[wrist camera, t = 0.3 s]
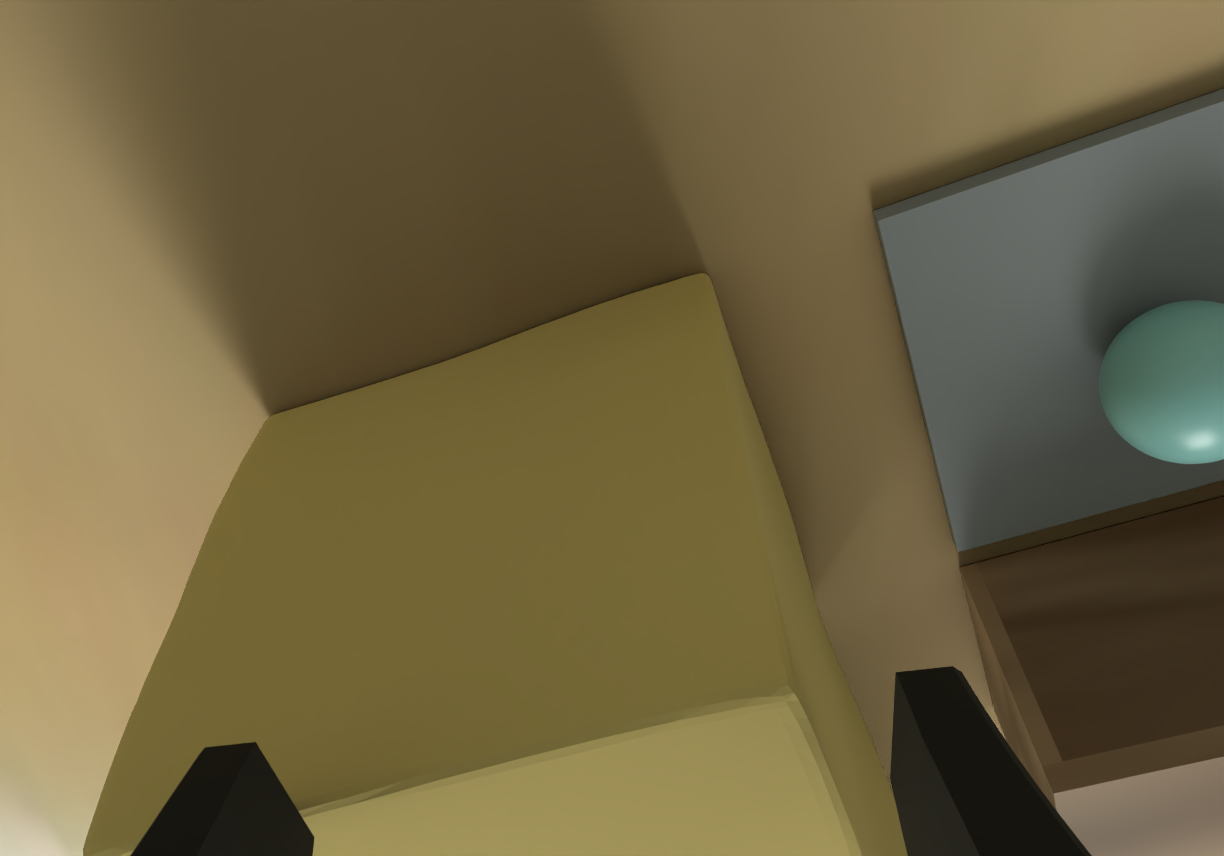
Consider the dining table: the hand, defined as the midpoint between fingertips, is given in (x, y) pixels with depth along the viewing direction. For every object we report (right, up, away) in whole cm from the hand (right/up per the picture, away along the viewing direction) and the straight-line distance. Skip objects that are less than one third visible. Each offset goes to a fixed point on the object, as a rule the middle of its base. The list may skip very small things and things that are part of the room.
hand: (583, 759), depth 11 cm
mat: (+13, +6, +8) cm, 16 cm away
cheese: (-1, +2, +11) cm, 11 cm away
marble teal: (+11, +6, +8) cm, 15 cm away
